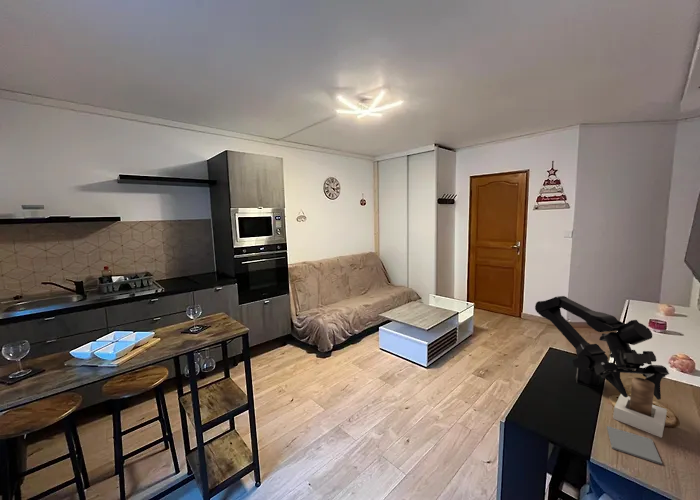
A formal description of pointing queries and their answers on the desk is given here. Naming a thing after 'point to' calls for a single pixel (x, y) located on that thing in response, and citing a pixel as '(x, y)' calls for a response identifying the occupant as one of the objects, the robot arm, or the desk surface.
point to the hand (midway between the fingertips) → (642, 398)
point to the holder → (640, 417)
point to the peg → (642, 396)
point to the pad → (633, 444)
